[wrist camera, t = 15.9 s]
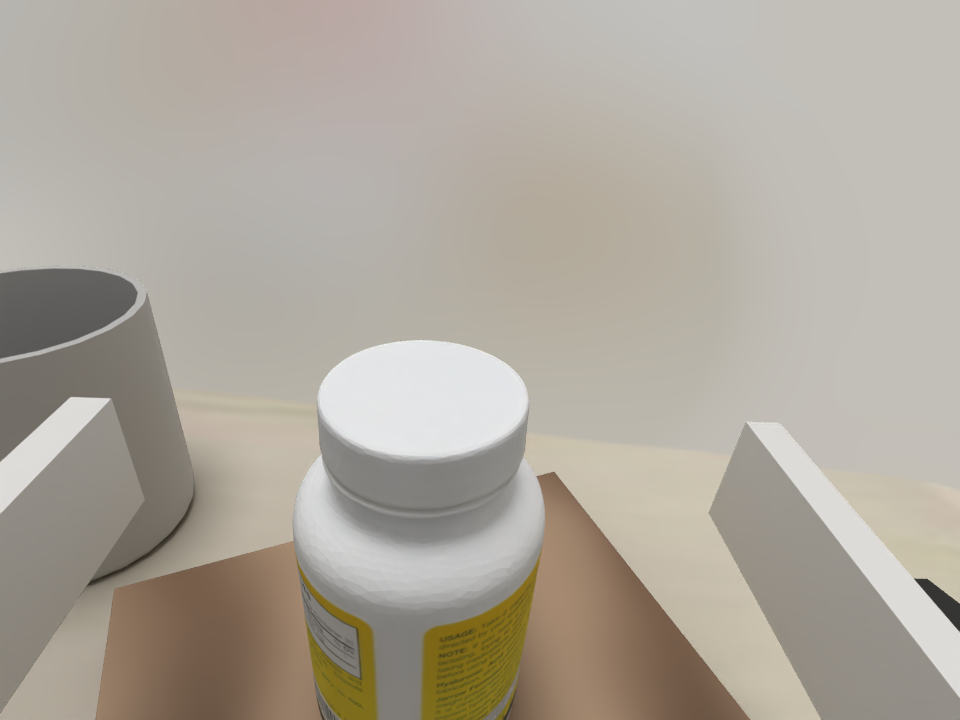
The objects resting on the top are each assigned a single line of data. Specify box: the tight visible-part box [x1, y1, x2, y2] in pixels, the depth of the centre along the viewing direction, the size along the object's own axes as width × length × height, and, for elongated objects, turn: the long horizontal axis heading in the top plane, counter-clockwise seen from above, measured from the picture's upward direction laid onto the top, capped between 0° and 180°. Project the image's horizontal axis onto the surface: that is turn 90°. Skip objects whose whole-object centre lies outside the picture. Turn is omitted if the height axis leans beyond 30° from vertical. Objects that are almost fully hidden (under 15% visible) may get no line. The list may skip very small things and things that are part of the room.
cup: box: [0, 266, 194, 581], centre depth 19 cm, size 7×10×9 cm
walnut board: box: [95, 472, 750, 720], centre depth 16 cm, size 16×12×2 cm
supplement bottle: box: [293, 340, 545, 720], centre depth 13 cm, size 5×5×10 cm
